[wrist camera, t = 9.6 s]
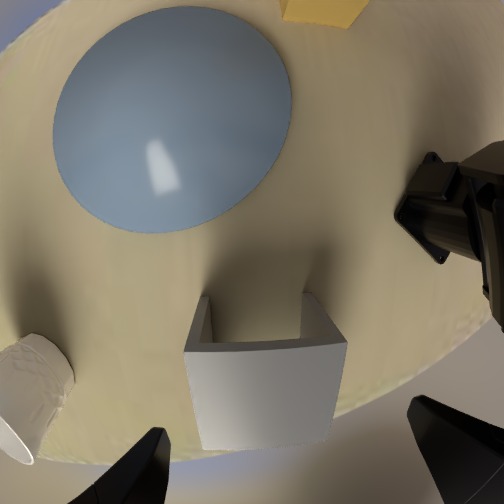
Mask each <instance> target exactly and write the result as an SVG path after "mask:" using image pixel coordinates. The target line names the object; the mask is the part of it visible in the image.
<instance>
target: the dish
mask: <svg viewBox="0 0 504 504" xmlns="http://www.w3.org/2000/svg"><path fill="white" fill-rule="evenodd" d="M291 109H292V104H291V89H290V83H289V78H288V75H287V72H286V69H285V67H284V64H283V62H282V60H281V58H280V56H279V55H278V53H277V51H276V50H275V48H274V47H273V46H272V44H271V43H270V42H269V41H268V40H267V39H266V38H265V37H264V36H263V35H262V34H261V33H260V32H259V31H258V30H257V29H255V28H254V27H253V26H251V25H250V24H248V23H247V22H245V21H243V20H241V19H239V18H237V17H236V16H233V15H231V14H228V13H225V12H222V11H219V10H214V9H210V8H204V7H193V6H188V7H172V8H165V9H160V10H156V11H152V12H149V13H146V14H143V15H140V16H138V17H135V18H133V19H131V20H129V21H127V22H125V23H123V24H121V25H119V26H118V27H116V28H115V29H113V30H112V31H110V32H109V33H107V34H106V35H105V36H104V37H102V38H101V39H100V40H99V41H97V42H96V43H95V44H94V45H93V46H92V47H91V48H90V49H89V50H88V51H87V52H86V53H85V55H84V56H83V57H82V58H81V60H80V61H79V62H78V63H77V65H76V66H75V68H74V69H73V71H72V72H71V74H70V76H69V77H68V79H67V81H66V83H65V85H64V87H63V90H62V92H61V95H60V98H59V100H58V104H57V108H56V112H55V116H54V125H53V147H54V155H55V160H56V163H57V167H58V170H59V173H60V175H61V177H62V179H63V182H64V184H65V185H66V187H67V188H68V190H69V192H70V193H71V195H72V196H73V197H74V198H75V199H76V201H77V202H78V203H79V204H80V205H81V206H82V207H83V208H84V209H86V210H87V211H88V212H89V213H90V214H91V215H93V216H95V217H96V218H98V219H100V220H101V221H103V222H105V223H107V224H109V225H112V226H114V227H116V228H120V229H124V230H128V231H131V232H140V233H167V232H174V231H180V230H184V229H187V228H191V227H194V226H197V225H200V224H202V223H204V222H207V221H209V220H211V219H214V218H216V217H217V216H219V215H221V214H222V213H224V212H226V211H227V210H229V209H231V208H232V207H233V206H235V205H236V204H237V203H239V202H240V201H241V200H242V199H244V198H245V197H246V196H247V195H248V194H249V193H250V192H251V191H252V190H253V189H254V188H255V187H256V186H257V185H258V184H259V183H260V182H261V180H262V179H263V178H264V177H265V175H266V174H267V173H268V172H269V170H270V169H271V167H272V165H273V164H274V162H275V160H276V159H277V157H278V155H279V153H280V151H281V148H282V146H283V144H284V141H285V139H286V135H287V131H288V128H289V124H290V117H291Z"/></svg>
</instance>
